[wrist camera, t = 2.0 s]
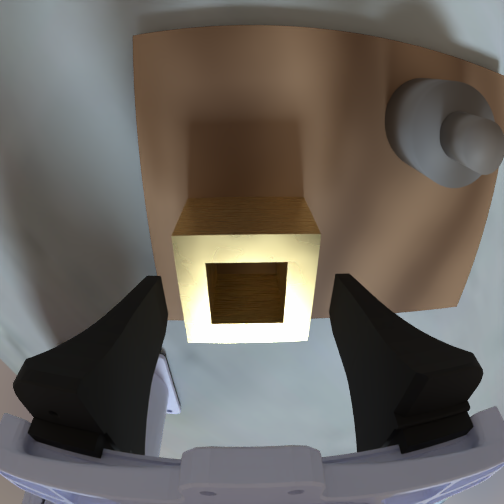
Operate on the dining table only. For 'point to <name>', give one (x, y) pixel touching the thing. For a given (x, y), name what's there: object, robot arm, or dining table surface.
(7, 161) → the dining table surface
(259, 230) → the brass collar
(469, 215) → the peg board
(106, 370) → the robot arm
